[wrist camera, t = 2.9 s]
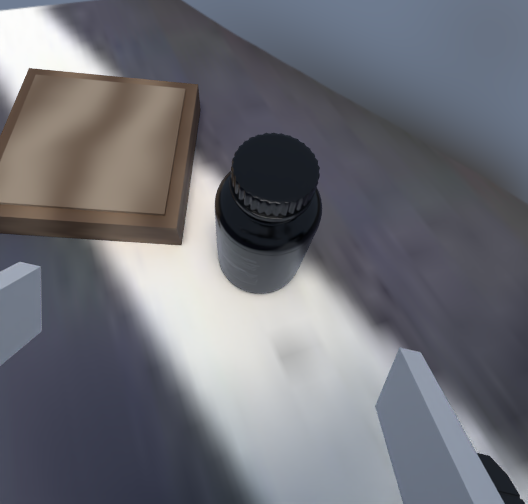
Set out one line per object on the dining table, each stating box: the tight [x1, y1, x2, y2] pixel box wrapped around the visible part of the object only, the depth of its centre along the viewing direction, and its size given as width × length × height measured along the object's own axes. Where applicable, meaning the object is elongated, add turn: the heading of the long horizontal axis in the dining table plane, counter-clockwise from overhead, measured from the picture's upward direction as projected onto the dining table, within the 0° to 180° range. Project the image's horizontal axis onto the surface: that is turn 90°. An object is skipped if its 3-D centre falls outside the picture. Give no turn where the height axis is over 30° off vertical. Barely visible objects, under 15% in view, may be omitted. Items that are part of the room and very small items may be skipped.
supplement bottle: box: [215, 133, 322, 293], centre depth 24 cm, size 7×7×12 cm
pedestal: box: [0, 68, 200, 245], centre depth 31 cm, size 15×15×3 cm
